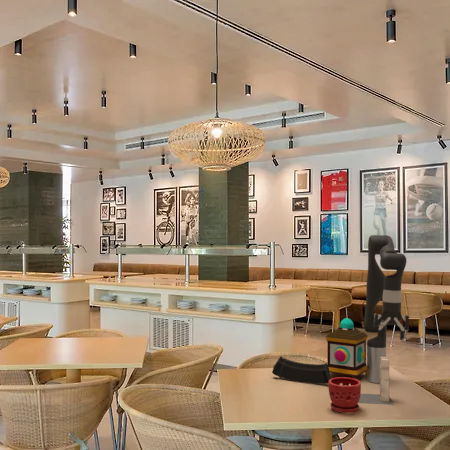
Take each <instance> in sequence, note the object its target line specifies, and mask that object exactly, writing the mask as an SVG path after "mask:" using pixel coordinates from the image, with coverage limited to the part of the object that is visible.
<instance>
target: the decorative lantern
mask: <svg viewBox="0 0 450 450" xmlns="http://www.w3.org/2000/svg"><path fill="white" fill-rule="evenodd" d="M356 327H357V326H354V322H353V320H352V319H350V318H348V317H345V318H343V319H342V320H341V321H340V324H339V326H338V327H337V328H336V329H335V330H334V331H331V332H329V333H328V334H327V335H326V336H325V339H326V342H327V360H326V361H327V365H328V368H329V371H330V374H338V375H344V376H349V377H352V378H354V379H357V380H359V376H360V375H362V374H364V375H365V376H366V377H367V341H368V338H369V335H367V334H366V333H365V332H364V331H360V330H359V329H358V328H356Z"/></svg>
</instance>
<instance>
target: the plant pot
mask: <svg viewBox="0 0 450 450" xmlns="http://www.w3.org/2000/svg"><path fill="white" fill-rule="evenodd" d="M361 383H362V382H361V381H360V380H359V379H358V380H357V379H354V377H347V376H346V377H345V376H343V377H342V376H341V377H339V376H338V377H333V378H332V377H331V379H330V380H329V384H328V393H329V394H328V395H329V398H330V401H331V403H330V408H331V409H332V410H333V411H335V412H338V413H344V414H350V413H356V412H357V411H359V409H360V405H359V403H358V402H359V399H360V395H361V394H362V393H361V391H362V385H361ZM340 384H342V385H340Z"/></svg>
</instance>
